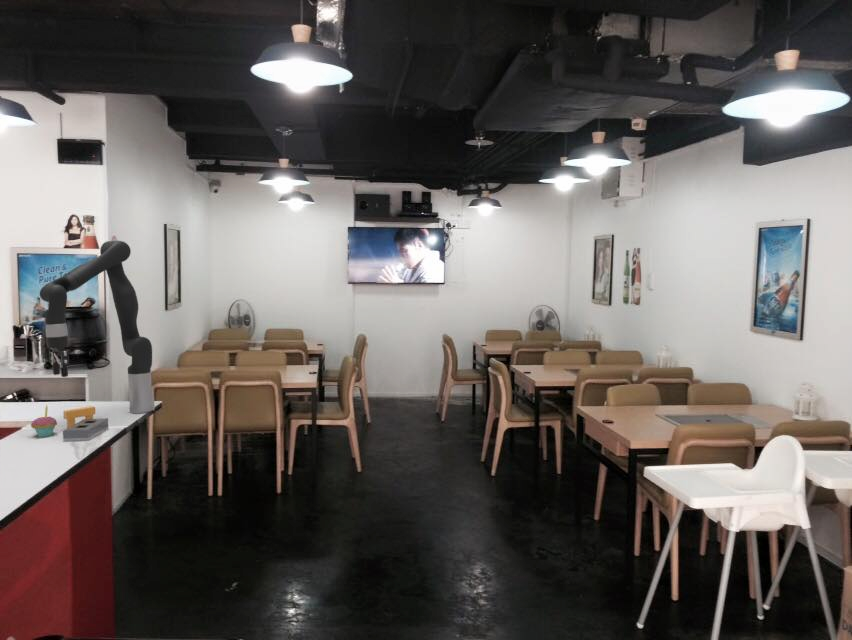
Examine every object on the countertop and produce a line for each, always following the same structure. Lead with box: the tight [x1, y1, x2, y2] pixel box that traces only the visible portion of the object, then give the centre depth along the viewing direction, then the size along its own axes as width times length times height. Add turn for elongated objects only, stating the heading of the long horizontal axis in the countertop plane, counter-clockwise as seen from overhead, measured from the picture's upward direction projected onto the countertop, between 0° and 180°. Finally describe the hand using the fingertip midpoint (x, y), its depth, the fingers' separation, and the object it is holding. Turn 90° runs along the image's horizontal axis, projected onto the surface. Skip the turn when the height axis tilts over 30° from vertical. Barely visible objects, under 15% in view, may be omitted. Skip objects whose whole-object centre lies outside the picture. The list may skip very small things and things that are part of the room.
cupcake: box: [30, 404, 58, 438], centre depth 253 cm, size 9×8×12 cm
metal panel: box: [62, 418, 109, 442], centre depth 254 cm, size 18×9×4 cm, turn 4°
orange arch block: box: [62, 405, 97, 429], centre depth 267 cm, size 11×3×7 cm, turn 139°
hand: (60, 375), depth 263 cm, fingers open, 8 cm apart
